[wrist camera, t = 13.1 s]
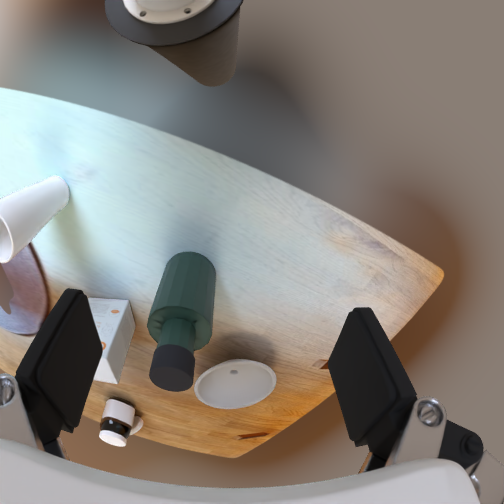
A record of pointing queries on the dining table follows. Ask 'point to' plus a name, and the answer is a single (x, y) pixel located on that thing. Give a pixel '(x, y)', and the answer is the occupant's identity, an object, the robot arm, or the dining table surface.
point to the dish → (235, 384)
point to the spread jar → (118, 421)
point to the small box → (112, 335)
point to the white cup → (29, 213)
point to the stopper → (172, 368)
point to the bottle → (184, 303)
